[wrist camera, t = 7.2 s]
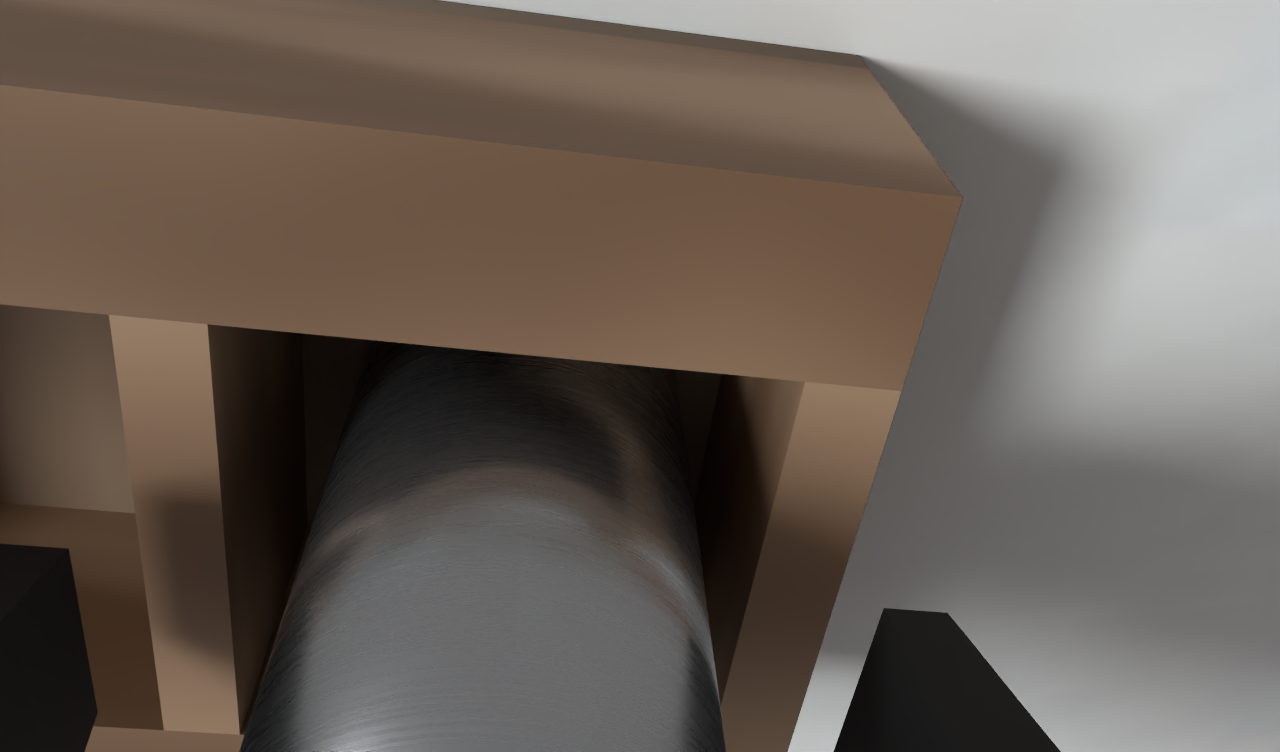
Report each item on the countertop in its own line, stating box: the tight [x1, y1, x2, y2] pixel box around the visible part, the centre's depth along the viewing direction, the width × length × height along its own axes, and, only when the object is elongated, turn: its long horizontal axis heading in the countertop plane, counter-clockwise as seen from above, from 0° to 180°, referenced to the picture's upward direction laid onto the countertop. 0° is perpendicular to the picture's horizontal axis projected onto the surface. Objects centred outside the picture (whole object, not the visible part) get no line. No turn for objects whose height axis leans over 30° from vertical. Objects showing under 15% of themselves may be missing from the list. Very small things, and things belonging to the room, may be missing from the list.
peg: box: [239, 340, 726, 752], centre depth 11 cm, size 4×4×7 cm
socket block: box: [0, 0, 963, 752], centre depth 12 cm, size 9×13×4 cm
